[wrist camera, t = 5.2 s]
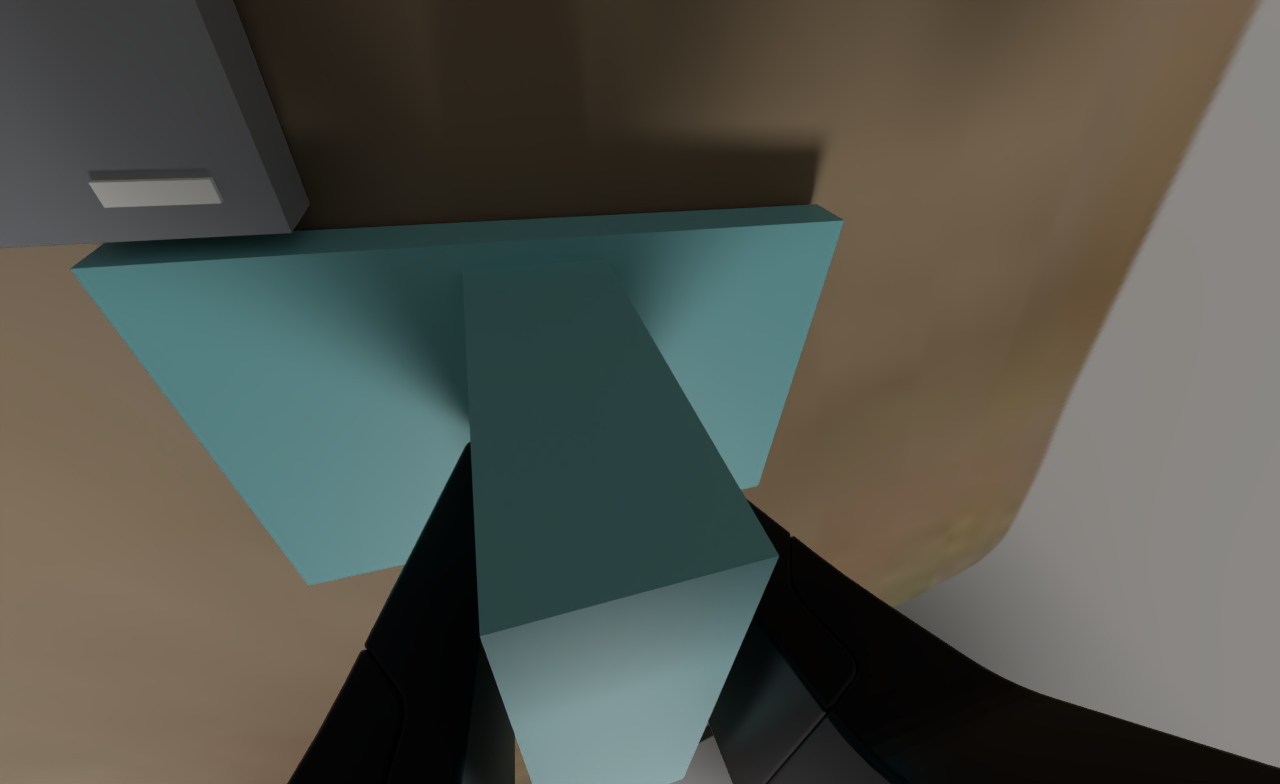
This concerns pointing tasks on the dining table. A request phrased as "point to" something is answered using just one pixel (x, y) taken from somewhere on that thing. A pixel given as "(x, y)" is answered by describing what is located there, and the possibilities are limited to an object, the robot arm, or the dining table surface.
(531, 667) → the stub
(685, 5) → the dining table surface
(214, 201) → the plate
